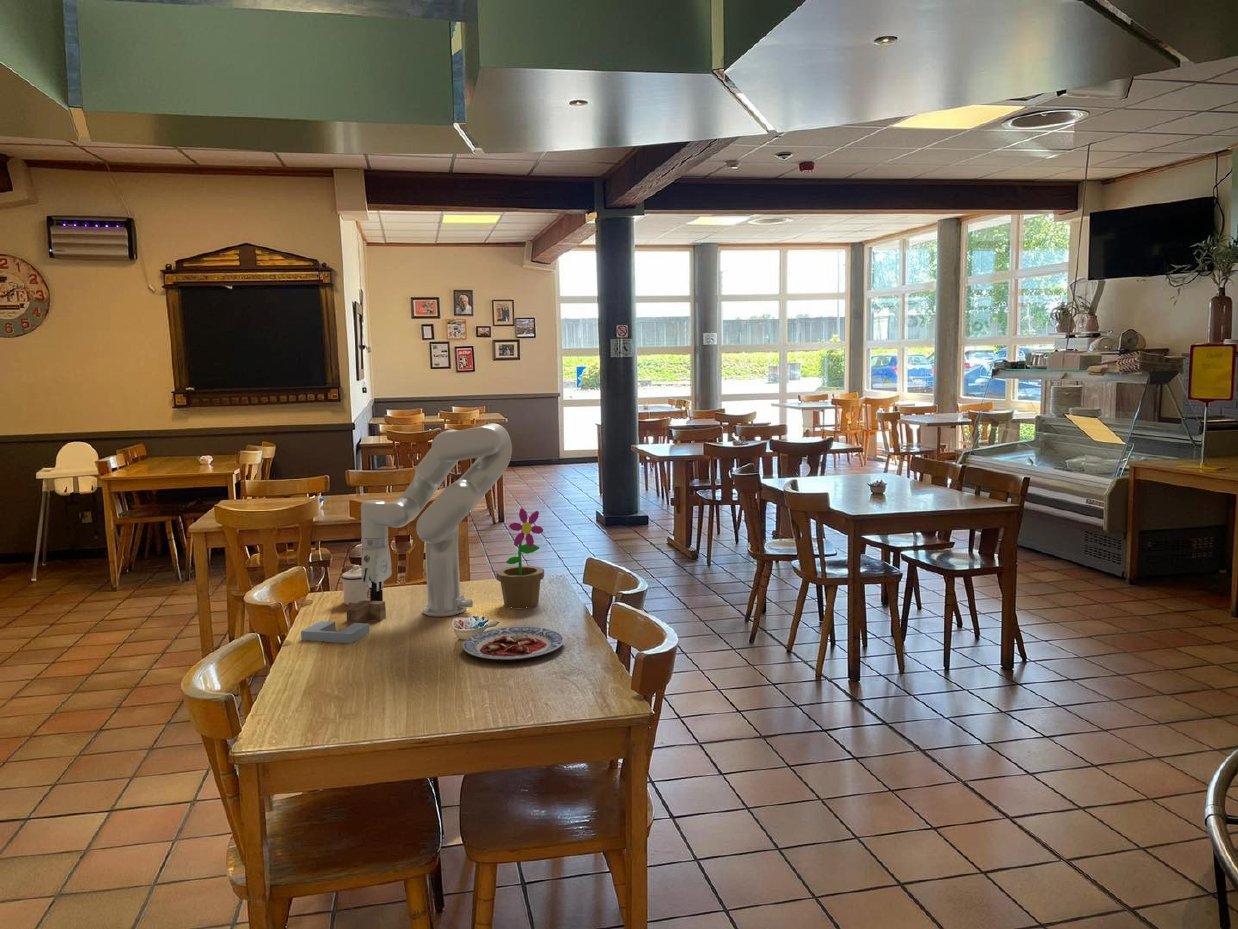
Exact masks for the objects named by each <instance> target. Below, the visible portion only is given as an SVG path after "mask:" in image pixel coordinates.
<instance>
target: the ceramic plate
mask: <svg viewBox="0 0 1238 929" xmlns="http://www.w3.org/2000/svg"><path fill="white" fill-rule="evenodd" d="M477 634H478V633H477ZM474 635H475V636H473V635H471V636H469V637H468V638H467V639H465V640H464V642H463V643H462V647H463V648H462V649H463V651H465V653H467V654H469V655H471V656H473V657H474V656H475V657H477V658H478V657H479V658H482V659H488V660H489V659H491V660H499V659H500V661H514V660H515V659H518V660H524V658H525V659H529V658H530V659H531V658H534V657H538V656H542V655H547V654H548V653H552V652H554V651H556V650H558V649H559V648H561V647H562V646H563V645H564V643H565V637H564V635H562V634H561V633H560V632H558V631H556V630H553V629H549V628H545V627H538V626H509V627H506V626H505V627H499V628H494V629H489V630H485V631H482V632H479V634H478V635H476V634H474ZM515 661H516V660H515Z"/></svg>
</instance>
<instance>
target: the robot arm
mask: <svg viewBox="0 0 1238 929" xmlns="http://www.w3.org/2000/svg"><path fill="white" fill-rule="evenodd" d="M431 442H432V443H431V448H430V449H429V450H428V452H427V453H426V454H425V456H423V458H422V459H421V461H420V462H419V463H418V465H417V466H416V468H415V470H414V477H413V479H412V481H411V482H410V484H409V485H408V486H407V488H406V489H405V490H404V492H403V493H402V494H401V496H400V497H398V499H396V500H395V501H392V502H386V501H384V500H381V499H367V500H365V501H363V502H362V503H361V505H360V521H361V522H360V524H361V526H360V527H361V548H362V552H361V565H360V568H361V574H362V581H363V582H365V587H369V591H370V601H384V598H383V596H384V595H383V594H384V593H383V592H384V591H383V589H384V583H385V581H386V580H387V579H389V578H390V577H391V576H392V574H393V572H392V571H393V570H392V560H391V559H392V558H391V550H390V546H389V528H395V529H398V528H403V527H405V526H406V525H408V524H409V523H411V522H412V521H414V520H415V519H416V518H417V517H418V515H420V516H419V517H418V519H417V521H416V526H415V529H416V530H415V531H416V533H417V536H418V537H419V539H420V540H421V541H422V542H424V543H425V548H424V549H425V571H426V572H425V573H426V574H425V575H426V589H427V590H426V592H427V605H425V606H424V607H423V608H422V612H423V614H424V615H426V616H429V617H439V618H442V617H450V616H451V617H452V616H455V615H456V614H457V615H459V613H460V614H463V613H464V612H466V610H467V608H473V606H474V601H473V599H469V598H467V599H465V598H464V597H465V596H464V594H462V593H461V580H460V561H459V560H460V559H459V558H460V556H459V554H460V553H459V533H460V531H459V530H460V523H461V522H462V521H463V520H464V519H465V518H466V517H467V515H468V514H470V513H471V512H472V511H473V510H474V509H475V508H476V507H477V506H478V504H479V503H480V501H481V500H482V499H483V498H484V496H486V494H487V493H488V492H489V491H490V490H491V489H492V487H493V486H494V485H495V484H496V483H497V482H498V480H499V479H501V477H502V475H503V474H504V473H505V472H506V470H507V468H508V466H509V464H510V461H511V458H512V453H513V444H512V439H511V437H510V435H509V432H508V430H507V429H506V428H505V427H504V426H502V425H500V424H498V423H493V422H492V423H490V422H489V423H487V424H484V425H482V426H477V427H471V428H465V429H460V430H456V429H447V430H444V431H441V432H439V433H438V434H437V435H436V436H435V437H434V438H433V439H432V441H431ZM470 459H471V460H472V459H476V460H475V461H474V462H473V463H472V464H471V465H470V467H469V468H468V469H467V470H466V471H465V472H464V474H462V475H461V477H459V478H458V479H457V480H455V481H454V482H452V483H451V484H449V485H447V486H446V487H445V489H443V490H442V492H440V494H439V495H438V496H437V497H436V498H435V499H434V500H433V501H432V503H431V504H429V506H428V507H427V508H426V509H425V511H423V513H422V514H420V513H421V512H422V510H424V508H425V507H426V505H427V504H428V502H429V501H430V500H431V499H432V497H433V496H434V495H435V493H436V491H438V489H439V488H440V486H441V484H443V482H444V480H446V478H447V477H448V475H449V474H450V472H451V471H452V470H453V468H455V466H456V465H457V463H458V462H459V461H466V460H470Z"/></svg>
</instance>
